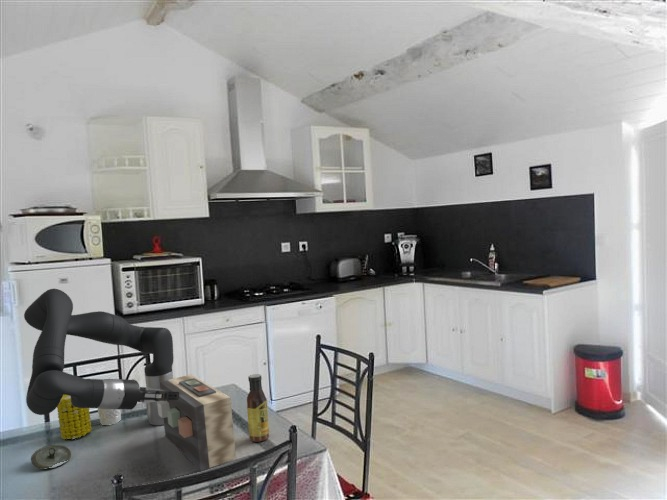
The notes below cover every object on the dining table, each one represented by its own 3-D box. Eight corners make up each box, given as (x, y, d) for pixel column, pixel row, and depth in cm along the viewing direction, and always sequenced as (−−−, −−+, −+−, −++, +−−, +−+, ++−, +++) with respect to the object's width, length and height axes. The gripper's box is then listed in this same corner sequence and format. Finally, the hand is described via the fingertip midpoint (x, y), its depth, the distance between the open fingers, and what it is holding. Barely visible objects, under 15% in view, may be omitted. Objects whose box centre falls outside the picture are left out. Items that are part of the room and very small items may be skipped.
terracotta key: (184, 438, 144) (182, 423, 144) (179, 433, 147) (177, 419, 147) (192, 435, 145) (191, 420, 145) (187, 430, 149) (186, 416, 148)
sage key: (172, 427, 152) (171, 413, 152) (168, 423, 155) (166, 409, 155) (181, 425, 153) (179, 411, 153) (176, 421, 157) (175, 407, 157)
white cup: (103, 419, 188) (100, 392, 188) (125, 417, 189) (122, 390, 188) (95, 427, 181) (92, 400, 180) (118, 425, 181) (115, 397, 181)
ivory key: (162, 418, 160) (161, 405, 160) (158, 414, 164) (157, 401, 163) (170, 416, 162) (169, 402, 161) (166, 412, 165) (165, 399, 165)
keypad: (200, 470, 143) (194, 404, 141) (165, 435, 169) (159, 379, 168) (235, 458, 149) (230, 394, 147) (196, 426, 175) (191, 371, 174)
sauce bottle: (265, 443, 157) (260, 379, 156) (246, 442, 159) (240, 379, 157) (272, 434, 164) (267, 372, 162) (254, 433, 165) (248, 372, 164)
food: (66, 448, 169) (61, 440, 177) (103, 429, 176) (96, 422, 184) (49, 406, 166) (45, 400, 175) (87, 389, 173) (81, 384, 181)
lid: (61, 452, 162) (59, 437, 162) (78, 459, 156) (76, 443, 156) (25, 467, 153) (24, 451, 153) (42, 474, 148) (40, 457, 147)
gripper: (104, 407, 137) (165, 408, 148) (124, 411, 127) (188, 411, 139) (108, 378, 139) (168, 381, 150) (129, 379, 129) (191, 382, 141)
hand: (177, 395), depth 145 cm, fingers closed
